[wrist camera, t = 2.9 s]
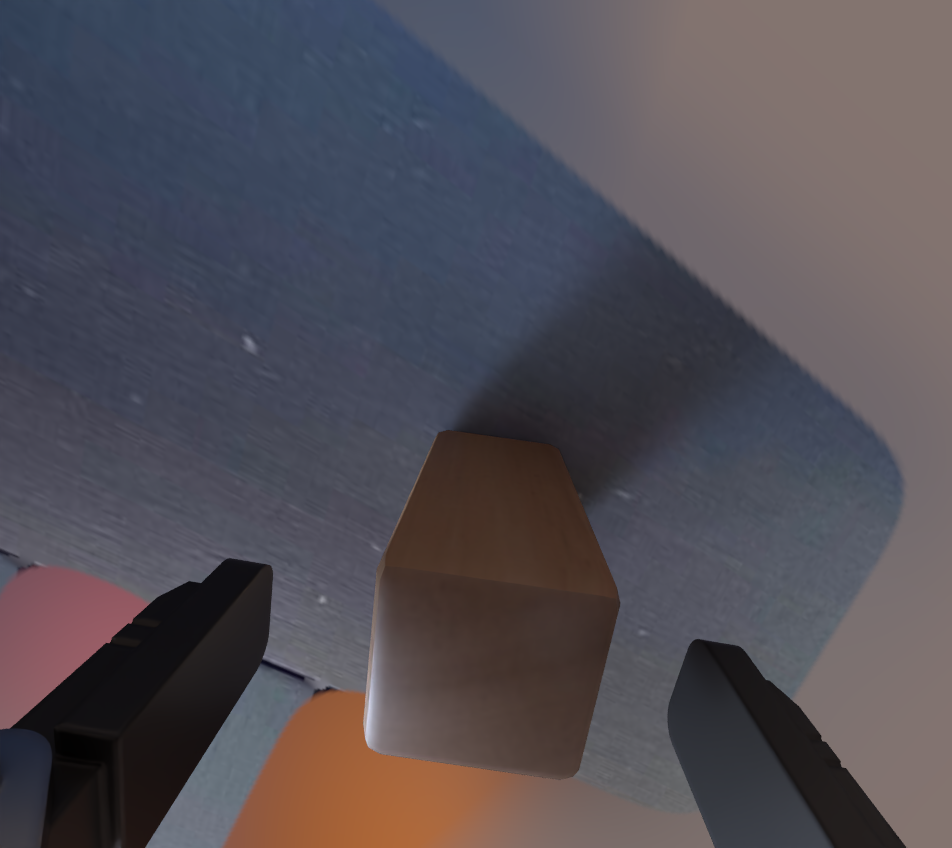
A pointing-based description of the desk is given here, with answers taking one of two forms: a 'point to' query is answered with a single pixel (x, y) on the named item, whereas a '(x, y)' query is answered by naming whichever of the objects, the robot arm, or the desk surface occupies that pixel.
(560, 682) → the wooden block
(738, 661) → the robot arm
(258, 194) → the desk surface
